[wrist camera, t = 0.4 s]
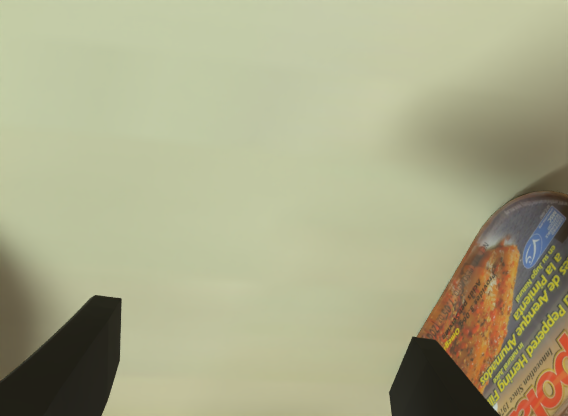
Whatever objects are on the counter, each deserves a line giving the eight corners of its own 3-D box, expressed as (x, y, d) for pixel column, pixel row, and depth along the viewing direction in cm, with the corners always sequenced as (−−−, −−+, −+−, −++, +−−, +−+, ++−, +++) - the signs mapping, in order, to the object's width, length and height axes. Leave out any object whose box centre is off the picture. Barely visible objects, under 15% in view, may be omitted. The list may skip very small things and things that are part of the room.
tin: (523, 156, 21) (660, 276, 13) (585, 175, 21) (751, 302, 14) (383, 387, 28) (422, 550, 20) (433, 398, 28) (488, 561, 21)
